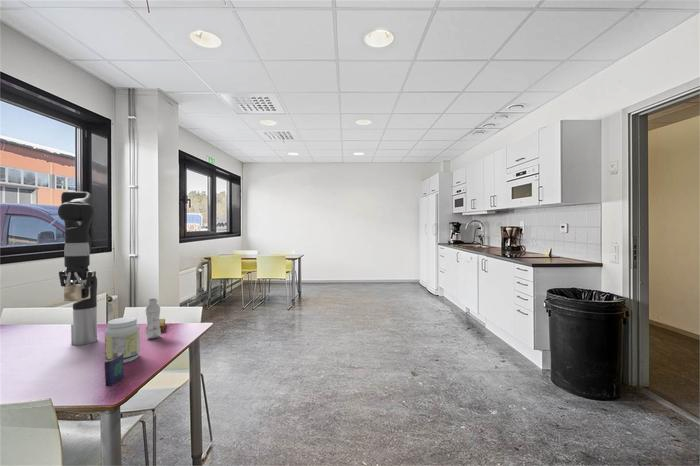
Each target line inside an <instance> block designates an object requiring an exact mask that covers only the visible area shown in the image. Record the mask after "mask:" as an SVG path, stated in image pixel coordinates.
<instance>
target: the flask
mask: <svg viewBox="0 0 700 466" xmlns="http://www.w3.org/2000/svg"><path fill="white" fill-rule="evenodd" d="M112 353H114V354H113V355H112V357H111V358H110V359H109V358H108V360H106V361H105V360H104V379H105V382H104V383H105V386H110V387H112V386H114V385H116V384H117V383H118V382H119V381H121V380H122V379H123V378H124V375H125V372H124V363H123V353H119V352H112ZM116 382H117V383H116ZM115 383H116V384H115ZM113 384H114V385H113ZM111 385H112V386H111Z"/></svg>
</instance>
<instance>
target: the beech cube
mask: <svg viewBox="0 0 700 466" xmlns="http://www.w3.org/2000/svg"><path fill="white" fill-rule="evenodd" d="M81 289H82V287H81V285H80V284H76V285H71V286H65V287H64V286H63V301H64V302H77V301H81V300H85V299H89V298H90V287H89V296H88V297H87V298H82V297H81Z"/></svg>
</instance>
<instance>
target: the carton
mask: <svg viewBox="0 0 700 466" xmlns="http://www.w3.org/2000/svg"><path fill="white" fill-rule="evenodd" d="M159 324H160V329H161V333H164V332H165V327H166V318H159ZM145 329H146V330H147V326H146V328H145ZM146 330H145V331H146Z"/></svg>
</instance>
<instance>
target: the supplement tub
mask: <svg viewBox="0 0 700 466" xmlns="http://www.w3.org/2000/svg"><path fill="white" fill-rule="evenodd" d="M106 324H107V325H106V327H107V328H106V329H105V331H104V362H105V361H106V360H108V358H109V359H110V358H111V357H112V355H113V354H114V353H112V352H119V353H123V364H126V363H129V362H133V361H134V360H136V359H137V358H138V357H140V354H141V353H140V352H141V351H140V349H141V348H140V347H141V346H140V344H141V343H140V342H141V341H140V339H141V337H140V335H141V334H140V325H139V324H138V319H137V317H133V316H129V317H128V316H126V317H117V318H114V319H110V320H109V321H108V322H107V323H106Z"/></svg>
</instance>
